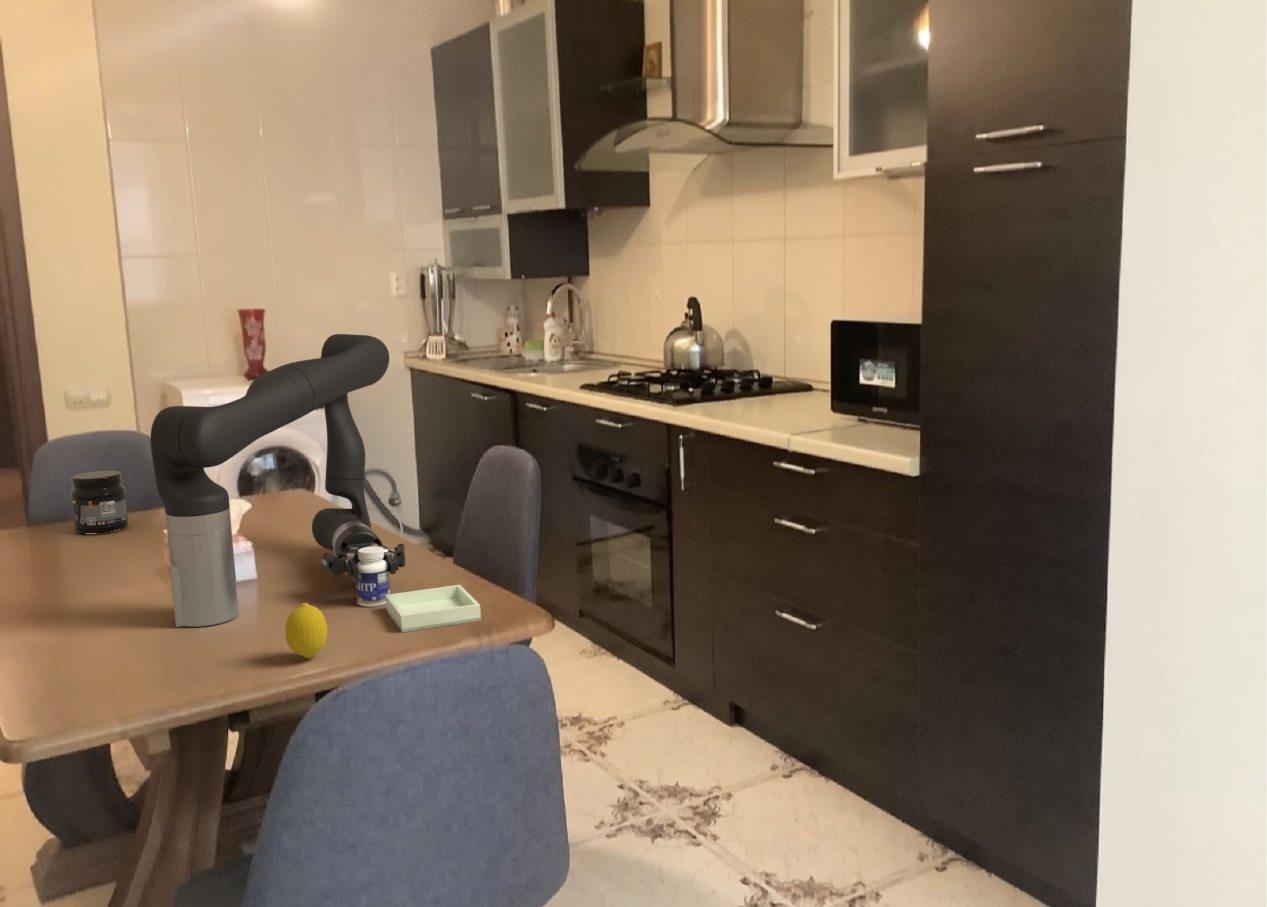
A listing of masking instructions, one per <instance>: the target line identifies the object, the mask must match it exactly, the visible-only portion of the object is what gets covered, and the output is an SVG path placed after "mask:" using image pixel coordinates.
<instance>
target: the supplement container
mask: <svg viewBox="0 0 1267 907" xmlns="http://www.w3.org/2000/svg"><path fill="white" fill-rule="evenodd" d="M70 480H71V486H72V487H73V489H72V490H71V491H70V494H69V496H70V498H71V507H72V517H73V529H74V531H75V532H76V533H78V534H80V533H105V532H110V531H114V530H118V529H122V528H124V529H126V528H127V527H128V525H129V518H128V507H127V498H126V487H125V486H124V485H123V484H122V481H123V480H122V473H121V472H120V471H115V470H102V471H89V472H84V473H80V474H79V473H78V474H75V475H73V476H72V477H71V478H70ZM126 526H127V527H126ZM122 530H123V529H122Z"/></svg>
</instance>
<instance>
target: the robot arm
mask: <svg viewBox="0 0 1267 907" xmlns="http://www.w3.org/2000/svg"><path fill="white" fill-rule="evenodd" d="M389 364H390V352H389V349H388V347H387V346H386V344H385V342H383V341H382V340H381V339H379V338H377V337H376V336H371V335H367V334H350V333H349V334H348V333H336V334H335V333H334V334H332V335H330V336H328V337H327V338H326V340H325V341H324V343H323V346H322V349H321V354H320V357H319V358H312V359H305V360H299V361H293V362H290V363H286V364H282V365H280V366H277V367H276V368H273V369H271V370H269V371H265V372H264V373H262V374H261V375H259V376H258V377H256V378H255V379H254V380H253V381H252V382H251V383H250V385H249V386H248V388H247V390H246V393H245V395H244V396H242V397H240V398H239V399H238V398H237V399H235V400H232V401H230V402H227V403H224V404H220V405H215V406H197V405H196V406H195V405H193V406H191V405H173V406H167V407H164V408H163V409H161V410H160V411H159V412H158V413H157V414H156V416H155V418H154V419H153V422H152V425H151V428H150V439H149V440H150V452H151V457H152V458H151V459H152V464H153V465H152V466H153V471H154V478H155V484H156V489H157V493H158V496H159V498H160V500H161V501H162V504H163V507H164V514H165V522H166V523H165V524H166V534H167V543H168V544H167V546H168V556H169V571H170V579H171V589H172V590H171V591H172V592H171V593H172V602H173V611H174V621H175V622H174V624H175V627H176V628H180V627H191V628H192V627H193V628H194V627H206V626H207V627H208V626H214V625H219V624H222V623H226V622H229V621H231V620H233V619H235V618H237V617H238V616H239V613H240V612H239V599H238V591H237V590H238V586H237V578H236V577H237V576H236V575H237V574H236V565H235V563H236V562H235V553H234V540H233V531H232V530H233V529H232V528H233V527H232V520H231V518H232V517H231V507H230V506H231V505H230V495H229V492H228V491H227V489H226V488H225V487H224V486H222V485H220V484H218V483H216V482H215V480H214V481H213V479H212V478H210V477H209V475H207V473H206V471H205V468H206V469H207V468H214V467H217V466H220V465H222V464H224V463H225V462H227V461H228V460H230V459H232V458H233V457H235V456H236V455H237V454H239V453H241V452H242V451H243V450H244V449H246V448H247V447H249V446H250V445H251V444H253V443H254V442H256V441H257V440H259V439H260V438H263V437H264V436H267V435H269V434H271V433H272V432H275V431H277V430H279V429H280V428H283V427H284V426H287V425H289V424H291V423H294V422H295V421H297V420H299V419H301V418H303V417H305V416H307V415H309V414H310V413H312V412H313V411H315V410H318V409H319V408H321V407H324V408H323V409H324V418H325V424H326V426H325V427H326V464H325V480H324V489H325V491H326V493H328V494H329V495H332V496H336V497H340V498H344V499H347V500H349V502H350V504H351V508H343V507H342V508H335V507H327V508H326V507H325V508H322V509H321V510H319V511H317V513H316V514H315V515H314V517H313V520H312V523H311V532H312V535H313V538H314V540H315V542H316V543H317V544H318V545H319V546H320V547H322V548H324V549H327V550H328V551H333V553H330V552H323V553H322V554H321V557H322V558H321V559H322V562H321V563H322V569H323V570H325V571H327V572H328V573H330V574H332V575H333V576H339V575H341V574H342V573H344V575H347V576H348V577H352V579H354V580H356V579H358V566H357V563H358V562H360V560H359V557H358V550H359V549H361V548H365V547H372V546H377V547H382V548H383V550H384V557H383V558H382V559H383V560H384V561H386V562H387V563H388V567H389V575H394V574H397V571H399V569H400V568H404V567H405V566H406V553H405V551H406V550H405V549H406V548H405V544H404V543H399V544H396V545H395V546H394V548H391V549H389V547H388V546H386V545H383V542H382V540H381V539H380V538H379V536H377V534H376V533H375V532H374V531H373V529H372V524H371V519H370V515H369V512H368V506H367V503H366V497H365V494H366V493H365V472H366V448H365V444H364V442H363V438H362V436H361V434H360V433H361V432H360V431H359V429H358V427H357V424H356V422H355V420H354V418H353V415H352V411H351V408H350V403H349V397H348V396H349V395H348V394H349V393H352V392H353V391H356V390H360V389H363V388H367V387H369V386H372V385H374V384H376V383H377V382H379V381H380V380H381V379H382V378H383V377H384V375H385V374H386V373H387V371H388V368H389Z"/></svg>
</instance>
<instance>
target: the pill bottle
mask: <svg viewBox="0 0 1267 907" xmlns="http://www.w3.org/2000/svg"><path fill="white" fill-rule="evenodd" d="M358 557H359V560H360V562H358V563H357V566H358V579H355V588H356V589H355V590H356V602H357V604H358V605H359V606H362V607H366V608H367V607H368V608H371V607H374V608H375V607H380V606H383V605H386V596H385V595H388V594H391V589H390V588H391V586H390V572H389V567H388V563H387V562H386V561H384V560H383V559H382V558H383V557H384V550H383V548H382V547H377V546H372V547H365V548H361V549H359V550H358Z"/></svg>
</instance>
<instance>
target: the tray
mask: <svg viewBox="0 0 1267 907" xmlns="http://www.w3.org/2000/svg"><path fill="white" fill-rule="evenodd" d="M385 596H386V604H385V610H386V612H387V613H388V614H389V616H390V617H391V619H392V620H393V622H394V621H395V622H394V623H395V624H397V625H396V626H397V627H398V629H399V630H400V632H401V633H409V632H415V631H421V630H429V629H435V628H441V627H446V626H452V625H453V626H455V625H461V624H468V623H473V622H474V623H475V622H481V621H482V614H481V604H480V603H479V602H478V601H477V600H476V599H475V598H474V597H473V596H472V595H471V594H470V593H469V592H468V591H467V590H466V589H465V588H464V587H463V586H462V585H461V584H455V585H449V586H448V585H447V586H440V587H433V588H426V589H419V590H412V591H411V590H410V591H404V592H403V591H402V592H398V593H390V594H388V595H385Z"/></svg>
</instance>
